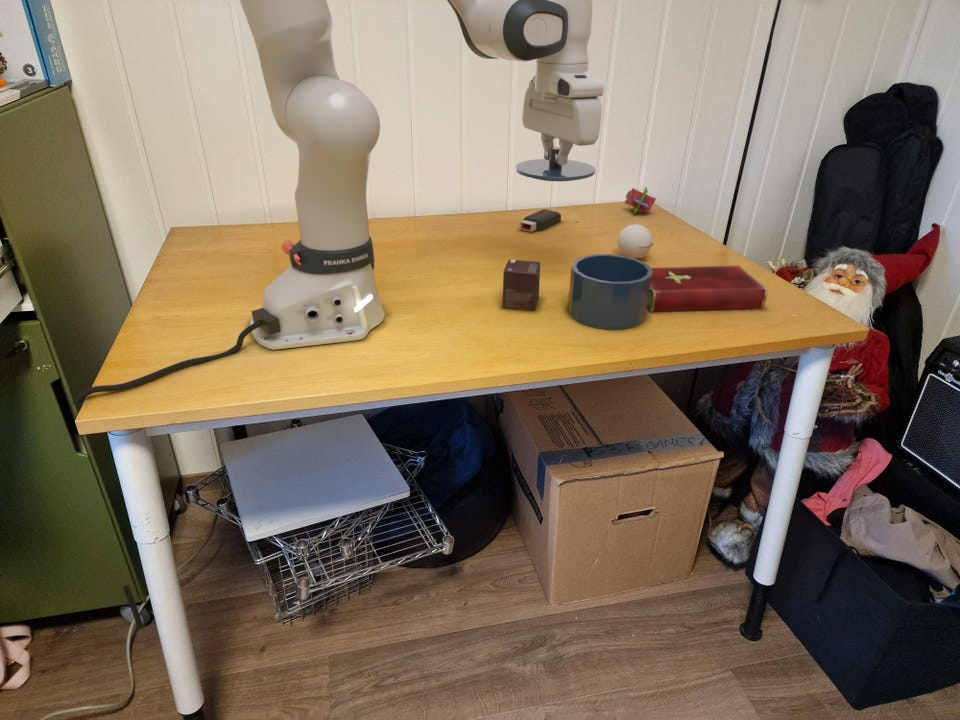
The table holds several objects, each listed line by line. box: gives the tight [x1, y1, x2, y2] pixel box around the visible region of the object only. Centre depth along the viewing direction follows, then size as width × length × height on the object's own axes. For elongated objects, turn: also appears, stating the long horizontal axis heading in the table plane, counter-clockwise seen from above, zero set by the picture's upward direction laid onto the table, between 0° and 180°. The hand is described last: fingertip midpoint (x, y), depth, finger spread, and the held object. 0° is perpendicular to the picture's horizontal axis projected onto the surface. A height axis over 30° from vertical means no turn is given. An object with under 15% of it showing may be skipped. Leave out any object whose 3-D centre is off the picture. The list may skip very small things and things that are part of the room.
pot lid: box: [515, 146, 596, 182], centre depth 119 cm, size 15×15×5 cm
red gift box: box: [624, 187, 657, 216], centre depth 167 cm, size 7×7×8 cm
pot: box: [567, 253, 653, 331], centre depth 114 cm, size 14×14×8 cm
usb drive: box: [519, 208, 562, 233], centre depth 158 cm, size 5×12×3 cm, turn 143°
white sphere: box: [616, 223, 656, 260], centre depth 139 cm, size 10×7×7 cm
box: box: [502, 259, 541, 312], centre depth 117 cm, size 6×6×7 cm
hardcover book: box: [647, 264, 768, 313], centre depth 121 cm, size 12×21×4 cm, turn 95°
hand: (555, 162), depth 119 cm, fingers closed on pot lid, 2 cm apart
